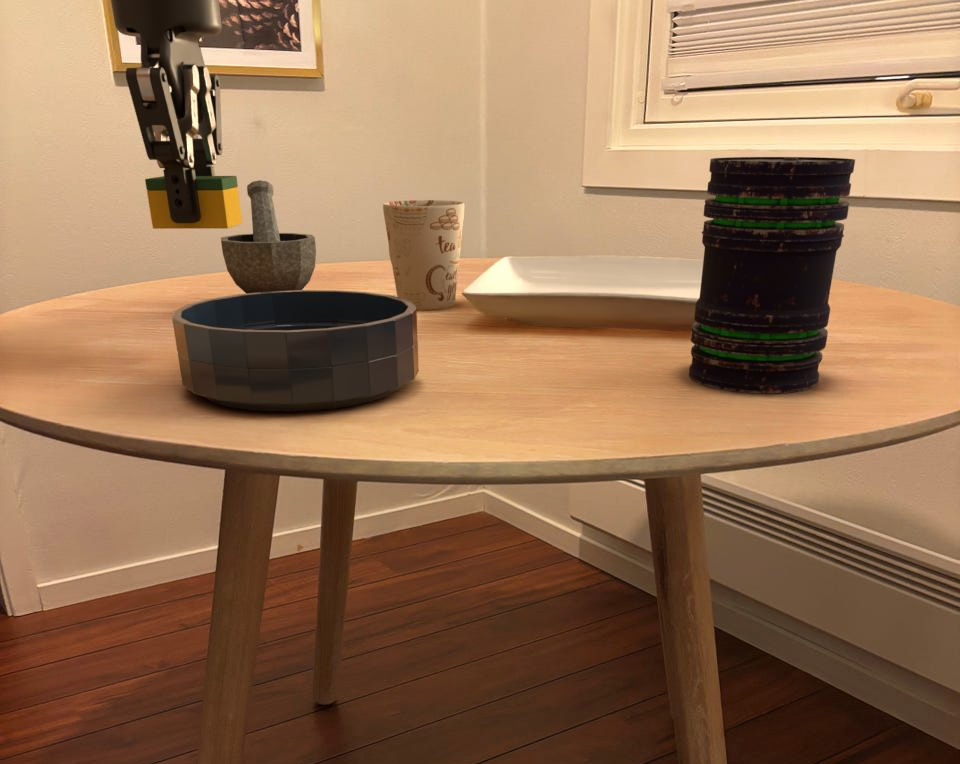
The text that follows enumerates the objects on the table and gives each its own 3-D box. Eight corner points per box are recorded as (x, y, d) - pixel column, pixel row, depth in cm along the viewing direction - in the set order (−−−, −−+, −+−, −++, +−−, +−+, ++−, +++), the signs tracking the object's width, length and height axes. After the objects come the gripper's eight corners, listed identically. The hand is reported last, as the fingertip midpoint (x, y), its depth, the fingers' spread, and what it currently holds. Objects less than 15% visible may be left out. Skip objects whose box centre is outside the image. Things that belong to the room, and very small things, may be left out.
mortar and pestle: (324, 313, 98) (313, 184, 92) (231, 317, 95) (214, 186, 90) (312, 296, 107) (302, 178, 101) (228, 300, 105) (213, 180, 99)
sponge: (152, 228, 74) (144, 178, 72) (170, 223, 77) (163, 176, 76) (227, 228, 73) (221, 178, 72) (242, 223, 77) (236, 175, 75)
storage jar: (803, 400, 66) (841, 162, 59) (669, 384, 71) (690, 160, 64) (831, 371, 74) (868, 157, 67) (709, 358, 78) (731, 156, 71)
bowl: (148, 414, 64) (134, 330, 61) (225, 358, 79) (216, 289, 76) (401, 418, 63) (397, 333, 60) (429, 360, 78) (427, 290, 75)
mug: (412, 314, 96) (408, 207, 92) (356, 298, 106) (350, 200, 101) (480, 306, 100) (480, 203, 96) (420, 291, 110) (417, 196, 105)
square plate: (459, 331, 89) (458, 288, 87) (504, 287, 112) (504, 252, 110) (756, 340, 84) (762, 295, 82) (738, 292, 108) (742, 256, 106)
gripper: (145, -30, 73) (180, 212, 82) (62, -60, 61) (114, 229, 69) (240, -31, 73) (266, 212, 81) (176, -63, 60) (214, 228, 69)
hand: (196, 218), depth 75 cm, fingers closed on sponge, 4 cm apart
